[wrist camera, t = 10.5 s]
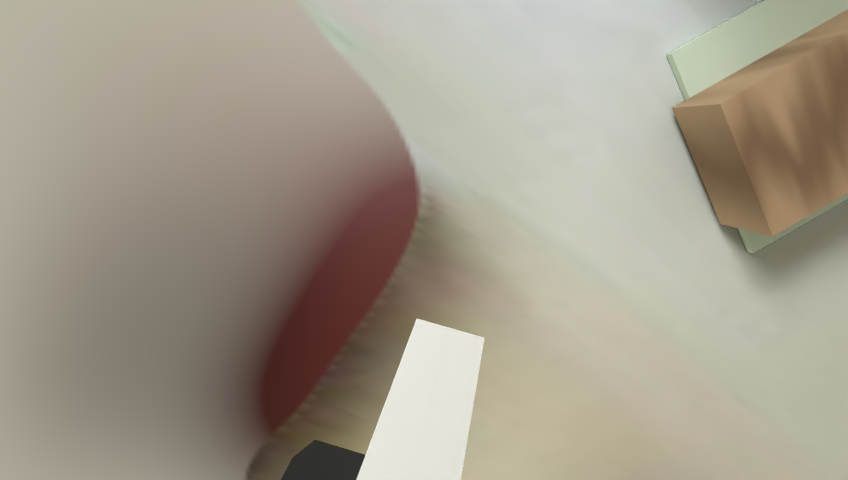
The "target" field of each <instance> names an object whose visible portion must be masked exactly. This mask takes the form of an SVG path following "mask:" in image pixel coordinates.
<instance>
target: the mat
mask: <svg viewBox="0 0 848 480" xmlns="http://www.w3.org/2000/svg"><path fill="white" fill-rule="evenodd" d="M847 9H848V0H764V1H762V2H760V3H758V4H756V5H755V6H753V7H751V8H749V9H747V10H746V11H744V12H742V13H740V14H738V15H737V16H735V17H733V18H731V19H730V20H728V21H726V22H724V23H722V24H721V25H719V26H717V27H715V28H713V29H712V30H710V31H708V32H706V33H704V34H703V35H701V36H699V37H697V38H695V39H694V40H692V41H690V42H688V43H686V44H685V45H683V46H681V47H679V48H677V49H676V50H674V51H672V52H670V53H668V54H667V55H666V56H667V58H668V60H669V63H670V65H671V68H672V70H673V73H674V75H675V77H676V80H677V82H678V85H679V87H680V90H681V92H682V94H683V97H684V99H685V100H687V99H689V98H690V97H692V96H694V95H696V94H698V93H699V92H701V91H703V90H705V89H706V88H708V87H710V86H712V85H714V84H715V83H717V82H719V81H721V80H723V79H724V78H726V77H728V76H730V75H731V74H733V73H735V72H737V71H739V70H740V69H742V68H744V67H746V66H747V65H749V64H751V63H753V62H755V61H756V60H758V59H760V58H762V57H764V56H765V55H767V54H769V53H771V52H772V51H774V50H776V49H778V48H780V47H781V46H783V45H785V44H787V43H788V42H790V41H792V40H794V39H796V38H797V37H799V36H801V35H803V34H805V33H806V32H808V31H810V30H812V29H813V28H815V27H817V26H819V25H821V24H822V23H824V22H826V21H828V20H829V19H831V18H833V17H835V16H837V15H838V14H840V13H842V12H844V11H846V10H847ZM847 199H848V193H847V194H846V195H844V196H842V197H840V198H839V199H837V200H835V201H833V202H832V203H830V204H828V205H826V206H825V207H823V208H821V209H819V210H818V211H816V212H814V213H813V214H811V215H809V216H807V217H806V218H804V219H802V220H800V221H799V222H797V223H795V224H793V225H792V226H790V227H788V228H786V229H785V230H783V231H781V232H780V233H778V234H776V235H774V236H769V235H765V234H760V233H756V232H752V231H747V230H743V229H739V228H738V231H739V233H740V235H741V238H742V240H743V243H744V245H745V248H746V250H747V252H750V253H755V252H757V251H759V250H760V249H762V248H764V247H766V246H767V245H769V244H771V243H772V242H774V241H776V240H778V239H779V238H781V237H783V236H785V235H786V234H788V233H790V232H792V231H793V230H795V229H797V228H798V227H800V226H802V225H804V224H805V223H807V222H809V221H811V220H812V219H814V218H816V217H818V216H819V215H821V214H823V213H824V212H826V211H828V210H830V209H831V208H833V207H835V206H837V205H838V204H840V203H842V202H844V201H845V200H847Z"/></svg>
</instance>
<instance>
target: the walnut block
mask: <svg viewBox="0 0 848 480" xmlns="http://www.w3.org/2000/svg"><path fill="white" fill-rule="evenodd" d="M672 109H673V112H674V114H675V117H676V119H677V121H678V124H679V126H680V129H681V131H682V133H683V136H684V138H685V141H686V143H687V145H688V148H689V150H690V153H691V155H692V157H693V160H694V162H695V164H696V167H697V169H698V172H699V174H700V176H701V179H702V181H703V184H704V186H705V188H706V191H707V193H708V196H709V198H710V200H711V203H712V205H713V208H714V210H715V212H716V215H717V217H718V219H719V222H720V224H722V225H726V226H730V227H735V228H739V229H743V230H747V231H752V232H756V233H760V234H765V235H769V236H774V235H776V234H778V233H780V232H781V231H783V230H785V229H786V228H788V227H790V226H792V225H793V224H795V223H797V222H799V221H800V220H802V219H804V218H806V217H807V216H809V215H811V214H813V213H814V212H816V211H818V210H819V209H821V208H823V207H825V206H826V205H828V204H830V203H832V202H833V201H835V200H837V199H839V198H840V197H842V196H844V195H846V194H847V193H848V9H847V10H846V11H844V12H842V13H840V14H838V15H837V16H835V17H833V18H831V19H829V20H828V21H826V22H824V23H822V24H821V25H819V26H817V27H815V28H813V29H812V30H810V31H808V32H806V33H805V34H803V35H801V36H799V37H797V38H796V39H794V40H792V41H790V42H788V43H787V44H785V45H783V46H781V47H780V48H778V49H776V50H774V51H772V52H771V53H769V54H767V55H765V56H764V57H762V58H760V59H758V60H756V61H755V62H753V63H751V64H749V65H747V66H746V67H744V68H742V69H740V70H739V71H737V72H735V73H733V74H731V75H730V76H728V77H726V78H724V79H723V80H721V81H719V82H717V83H715V84H714V85H712V86H710V87H708V88H706V89H705V90H703V91H701V92H699V93H698V94H696V95H694V96H692V97H690V98H689V99H687V100H685V101H683V102H682V103H680V104H678V105H676V106H674V107H673V108H672Z"/></svg>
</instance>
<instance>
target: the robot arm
mask: <svg viewBox="0 0 848 480" xmlns="http://www.w3.org/2000/svg"><path fill="white" fill-rule="evenodd" d="M483 344H484V338H483V337H480V336H476V335H473V334H469V333H466V332H462V331H459V330H455V329H452V328H448V327H445V326H441V325H437V324H434V323H430V322H427V321H423V320H420V319H416V322H415V325H414V327H413V330H412V333H411V335H410V338H409V341H408V343H407V346H406V349H405V351H404V354H403V357H402V359H401V362H400V365H399V367H398V370H397V373H396V375H395V378H394V381H393V383H392V386H391V389H390V391H389V394H388V397H387V399H386V402H385V405H384V407H383V410H382V413H381V415H380V418H379V421H378V423H377V426H376V429H375V431H374V434H373V437H372V439H371V442H370V445H369V447H368V450H367V453H366V455H364V454H361V453H357V452H354V451H351V450H347V449H344V448H341V447H338V446H334V445H331V444H328V443H324V442H321V441H318V440H314V441H313V442H312V443H310V444H309V445H308V446H307V447H305V448H304V449H303V450H302V451H300V452H299V453H298V454H297V455H295V456H294V457H293V458H292V460H291V462H290V464H289V465H288V467H287V469H286V471H285V473H284V475H283V477H282V479H281V480H461V475H462V469H463V463H464V457H465V451H466V445H467V439H468V433H469V427H470V421H471V415H472V409H473V403H474V397H475V391H476V385H477V379H478V374H479V368H480V362H481V356H482V350H483Z"/></svg>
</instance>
